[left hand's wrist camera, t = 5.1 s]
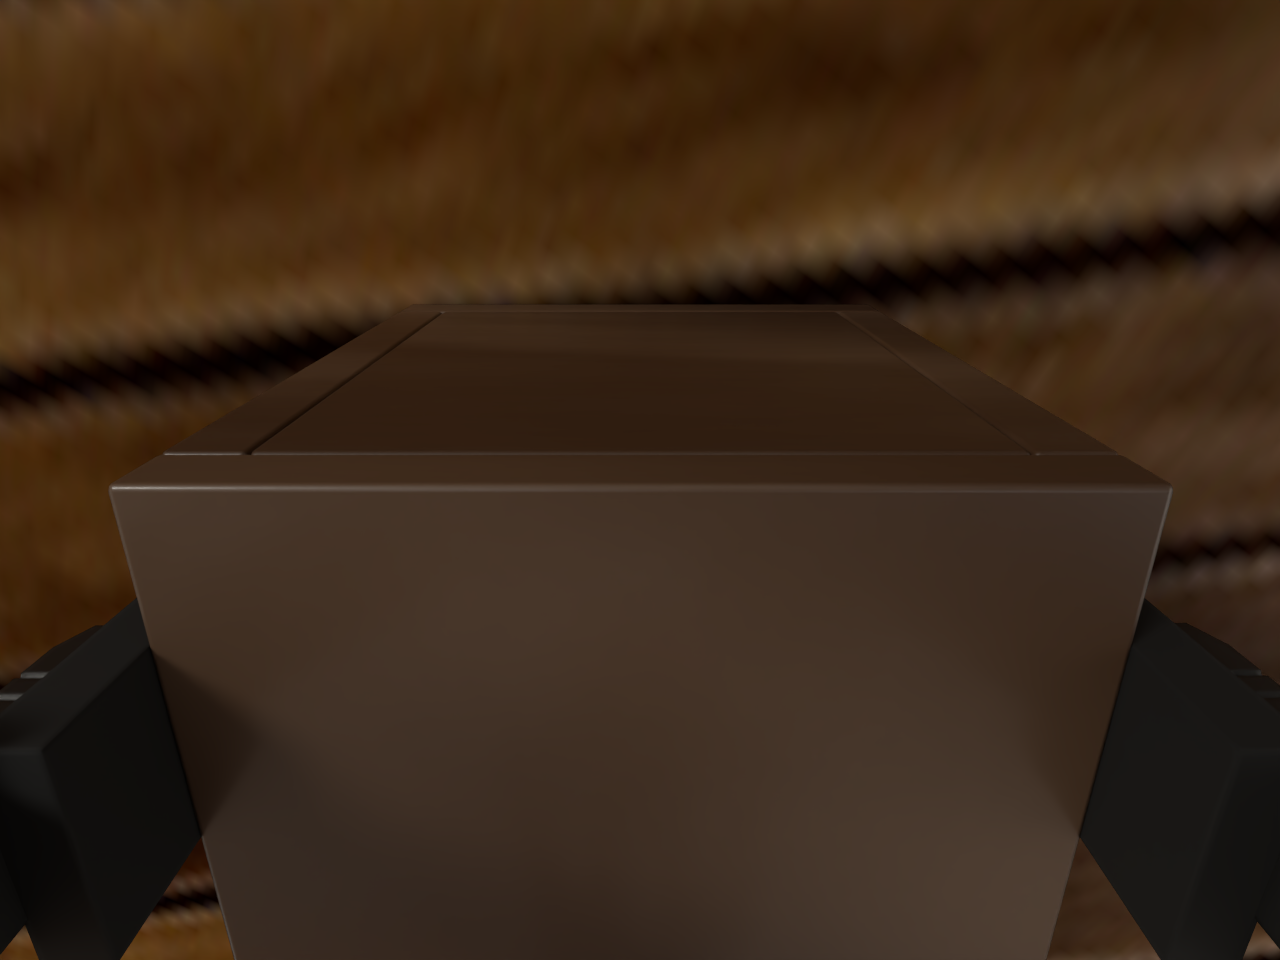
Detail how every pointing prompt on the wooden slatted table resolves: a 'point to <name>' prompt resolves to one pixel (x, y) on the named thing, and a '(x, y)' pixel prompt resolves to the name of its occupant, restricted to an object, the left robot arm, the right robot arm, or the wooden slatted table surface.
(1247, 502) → the wooden slatted table surface
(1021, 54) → the wooden slatted table surface
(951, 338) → the wooden slatted table surface
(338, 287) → the wooden slatted table surface
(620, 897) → the cabinet
